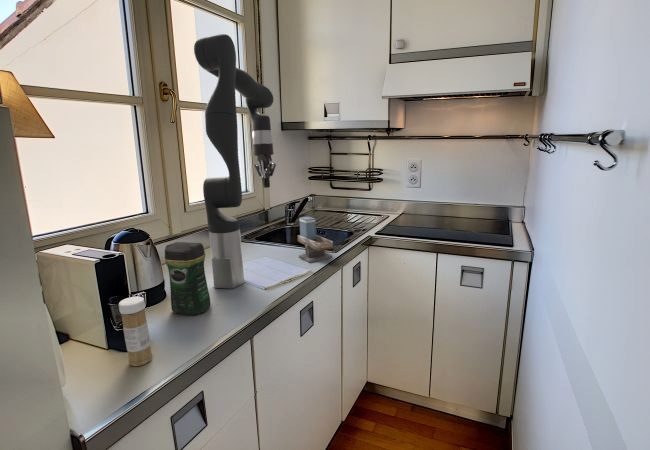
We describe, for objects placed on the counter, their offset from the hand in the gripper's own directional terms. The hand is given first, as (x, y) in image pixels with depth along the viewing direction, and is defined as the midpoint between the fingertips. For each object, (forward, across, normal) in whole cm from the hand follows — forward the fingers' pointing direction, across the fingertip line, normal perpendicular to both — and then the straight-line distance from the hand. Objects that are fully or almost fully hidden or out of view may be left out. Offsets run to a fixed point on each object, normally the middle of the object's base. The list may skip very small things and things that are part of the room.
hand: (266, 187), depth 150 cm
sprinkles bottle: (+28, +51, -63) cm, 85 cm away
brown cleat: (+26, +22, +6) cm, 34 cm away
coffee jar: (+27, +34, -46) cm, 63 cm away
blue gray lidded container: (+20, +17, +6) cm, 27 cm away
